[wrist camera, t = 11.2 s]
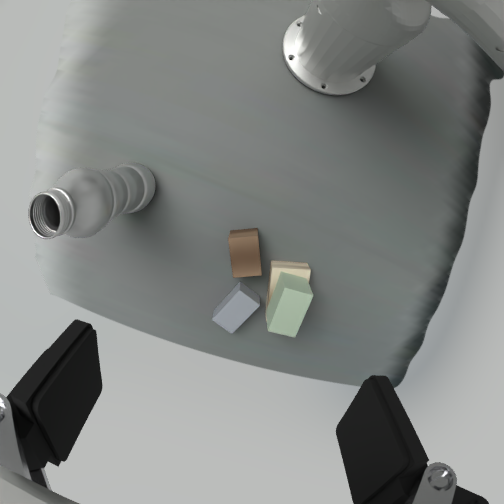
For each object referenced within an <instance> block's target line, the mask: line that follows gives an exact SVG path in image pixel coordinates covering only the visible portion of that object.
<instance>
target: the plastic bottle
mask: <svg viewBox="0 0 504 504" xmlns="http://www.w3.org/2000/svg"><path fill="white" fill-rule="evenodd" d="M154 193H155V179H154V176H153V174H152V173H151V171H150V170H149V169H148V168H147V167H145V166H143V165H141V164H138V163H135V162H127V163H123V164H121V165H118V166H117V167H115V168H113V169H110V170H98V169H92V168H75V169H72V170H70V171H69V172H67V173H65V174H64V175H63V176H61V177H60V178H59V179H58V180H57V182H56V183H55V185H54V187H53V188H51V189H48V190H47V191H44V192H41V193H39V194H37V195H36V196H35V197H34V198H33V199H32V201H31V203H30V206H29V212H28V216H29V222H30V225H31V227H32V229H33V231H34V232H35V233H36V234H37V235H38V236H39V237H41V238H43V239H51V238H54V237H56V236H59V235H63V234H66V235H68V236H70V237H74V238H86V237H90V236H92V235H94V234H96V233H97V232H99V231H100V230H101V229H103V228H104V227H105V226H106V225H107V224H108V223H109V222H110V221H111V220H112V219H114V218H115V217H117V216H119V215H121V214H128V213H133V212H137V211H140V210H142V209H143V208H144V207H146V205H147V204H148V203H149V202H150V201H151V199H152V198H153V195H154Z"/></svg>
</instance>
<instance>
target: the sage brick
mask: <svg viewBox="0 0 504 504" xmlns="http://www.w3.org/2000/svg"><path fill="white" fill-rule="evenodd" d="M312 298H313V293H312V291H311V288H310V286H309V283H308V281H307V279H306V278H303V277H300V276H296V275H293V274H289V273H286V272H282V271H281V273H280V275H279V278H278V281H277V283H276V286H275V289H274V291H273V294H272V297H271V299H270V302H269V305H268V307H267V310H266V315H267V328H268V331H270V332H274V333H278V334H282V335H287V336H291V337H295V336H296V334H297V332H298V330H299V327H300V325H301V323H302V321H303V318H304V316H305V314H306V312H307V309H308V307H309V305H310V303H311V300H312Z"/></svg>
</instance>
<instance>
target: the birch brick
mask: <svg viewBox="0 0 504 504" xmlns="http://www.w3.org/2000/svg"><path fill="white" fill-rule="evenodd" d="M281 271H282V272H286V273H289V274H293V275H296V276H300V277H303V278H306V279H307V281H308V283H309V278H310V272H311V269H310V267H309V266H308V264H307V263H300V262H286V261H272V260H271V264H270V273H269V283H268V292H267V301H266V309H265V316H266V322H267V315H266V310H267V307H268V305H269V302H270V299H271V297H272V294H273V291H274V289H275V286H276V283H277V281H278V278H279V275H280V273H281Z"/></svg>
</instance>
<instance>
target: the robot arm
mask: <svg viewBox="0 0 504 504" xmlns="http://www.w3.org/2000/svg"><path fill="white" fill-rule="evenodd" d="M431 5H433V6H434V7H435V8H436V9H438V10H439V11H440V12H441V13H443V14H444V15H446V16H448V17H449V18H450V19H451V20H452V21H453V22H454V23H456V24H457V25H458V26H459V27H460V28H461V29H462V30H463V31H464V32H465V33H467V34H468V35H469V36H470V37H471V38H472V39H473V40H474V41H475V42H476V43H477V44H478V45H479V46H480V47H481V48H482V49H483V50H484V51H485V52H486V53H487V54H488V55H489V56H490V57H491V58H492V59H493V60H494V62H495V63H496V64H497V65H498V66H499V67H500V68H501V69H502V70H503V71H504V0H312V1H311V3H310V6H309V8H308V11H307V13H306V15H304V16H302V17H300V18H298V19H296V20H295V21H294V22H293V23H292V24H291V25H290V26H289V28H288V29H287V30H286V33H285V35H284V38H283V43H282V52H283V57H284V60H285V62H286V65H287V67H288V68H289V70H290V71H291V73H292V74H293V75H294V76H295V77H296V78H297V79H298V80H299V81H300V82H301V83H303V84H304V85H306V86H307V87H309V88H311V89H313V90H315V91H317V92H320V93H323V94H329V95H346V94H350V93H353V92H355V91H358V90H359V89H361V88H363V87H364V86H365V85H366V84H367V83H368V82H369V81H370V80H371V78H372V77H373V74H374V72H375V68H376V63H378V62H379V61H381V60H382V59H384V58H385V57H387V56H388V55H390V54H391V53H393V52H394V51H396V50H397V49H399V48H401V47H402V46H404V45H405V44H407V43H408V42H410V41H411V40H413V39H414V38H416V37H417V36H418V35H420V34H421V33H422V32H423V30H424V29H425V28H426V26H427V24H428V21H429V19H430V15H431ZM297 25H299V26H300V27H299V26H297ZM289 58H292V59H293V60H292V61H291V60H289ZM360 79H361V80H362V82H361V81H360ZM321 86H324V87H325V89H323V88H322V87H321ZM96 335H97V334H96V330H94V329H93V328H92V325H91V324H89V323H86V322H83V321H80V320H74V321H73V322H72V323H71V325H69V327H68V328H67V329H66V330H65V331H64V332H63V333H62V334H61V335H60V336H59V338H58V339H57V340H56V341H55V342H54V343H53V344H52V345H51V347H50V348H49V349H47V350H46V351H45V352H44V353H43V354H42V355H41V356H40V357H39V358H38V360H37V361H36V362H35V363H34V364H33V365H32V367H31V368H30V369H29V370H28V371H27V373H26V374H25V375H24V376H23V377H22V379H21V380H20V381H19V382H18V383H17V385H16V386H15V387H14V388H13V390H12V391H11V393H10V394H9V395H8V396H7V397H5V396H3V395H2V394H0V504H79V503H76V502H74V501H72V500H70V499H67V498H65V497H63V496H61V495H59V494H57V493H55V492H53V491H52V490H51V487H50V485H49V482H48V479H47V476H46V473H45V470H44V467H45V466H46V463H47V462H50V463H52V464H55V465H56V466H59V464H60V462H61V461H66V460H67V458H68V456H69V454H70V452H71V450H72V447H73V446H74V444H75V441H76V440H77V438H78V436H79V434H80V431H81V430H82V427H83V426H84V424H85V422H86V420H87V418H88V416H89V414H90V412H91V410H92V409H93V407H94V405H95V403H96V401H97V399H98V397H99V396H100V394H101V391H102V379H101V372H100V363H99V355H98V345H97V336H96ZM336 435H337V439H338V443H339V446H340V450H341V455H342V458H343V463H344V466H345V471H346V475H347V479H348V483H349V487H350V491H351V495H352V500H353V503H354V504H489V503H488V501H487V500H486V499H484V498H483V497H481V496H479V495H477V494H475V493H472V492H470V491H468V490H465V489H463V488H461V487H459V486H457V485H456V484H457V478H456V474H455V473H454V471H453V470H452V469H451V468H450V467H449V466H448V465H446V464H444V463H440V462H439V463H433V464H430V465H429V466H427V462H428V461H429V459H428V457H427V455H426V453H425V450H424V448H423V446H422V444H421V442H420V440H419V438H418V436H417V434H416V432H415V430H414V428H413V425H412V423H411V421H410V419H409V417H408V416H407V414H406V412H405V409H404V408H403V406H402V404H401V402H400V400H399V398H398V396H397V394H396V392H395V390H394V388H393V386H392V384H391V383H390V381H389V379H388V377H386V376H375V375H373V376H370V377H369V378H368V379H366V380H365V381H364V382H363V384H362V386H361V388H360V389H359V391H358V393H357V395H356V396H355V398H354V400H353V401H352V403H351V405H350V406H349V408H348V409H347V411H346V413H345V414H344V416H343V417H342V419H341V420H340V422H339V424H338V425H337V428H336Z"/></svg>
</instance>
